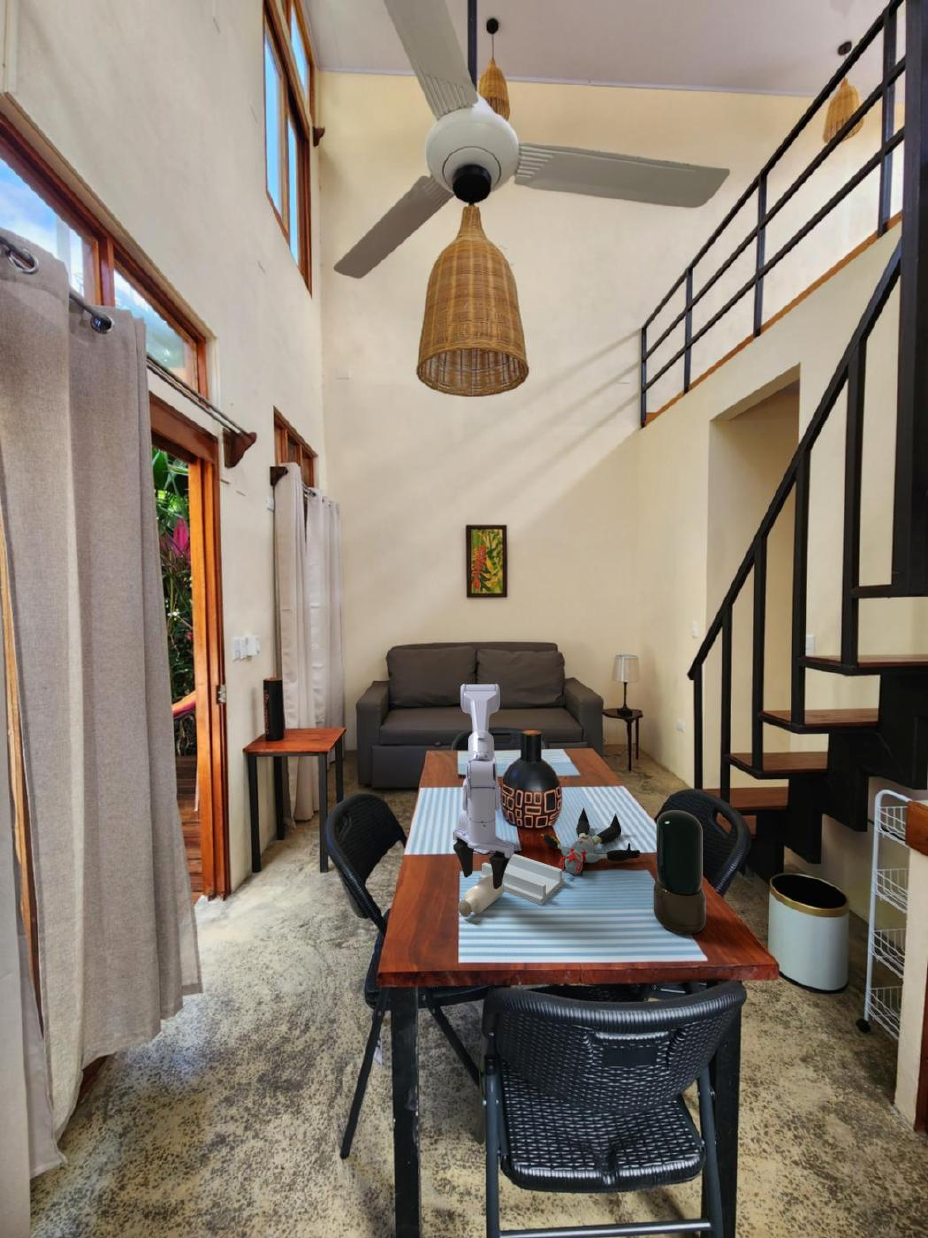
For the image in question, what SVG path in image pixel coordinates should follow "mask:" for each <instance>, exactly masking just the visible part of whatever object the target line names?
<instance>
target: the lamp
mask: <svg viewBox="0 0 928 1238" xmlns="http://www.w3.org/2000/svg"><path fill="white" fill-rule="evenodd" d="M703 833H704V832H703V827H702V824H701V823H700V821H699V820H698V819H697V817H696V816H694V815H693V814H691V813H689V812H687V811H683V810H678V809H677V810H676V809H675V810H674V809H671V810H667V811H665V812H662V813H661V814H660V815H659V817H658V818H657V820H656V834H655V835H656V841H655V842H656V844H655V845H656V846H655V847H656V850H655V851H656V864H655V865H656V877H657V879H656V881H655V882H654V885H653V914H654V916H655V919H656V920H657V922H658V923H659V924H660V925H661V926H662V927H665V929H668V931H672V932H675V933H678V934H683V935H691V934H693V935H694V934H696V933H699V932H700V931H702V930H703V929H704V928H705V926H706V921H707V896H706V894H705V891H704V889H703V887H702V884H703V879H704V877H703V876H704V875H703V874H704V872H703V871H704V868H703V866H704V865H703V863H704V862H703V860H704V859H703V858H704V857H703V855H704V854H703V853H704V852H703V851H704V847H703V844H704V843H703V842H704V841H703V839H704V838H703V837H704V835H703Z"/></svg>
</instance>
